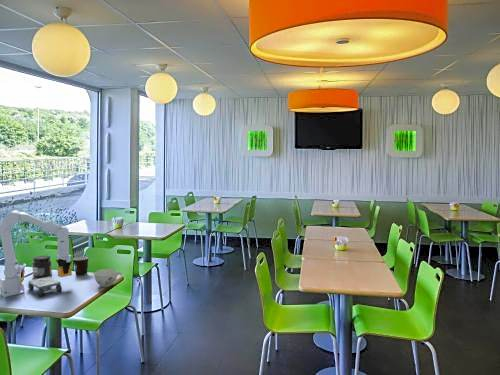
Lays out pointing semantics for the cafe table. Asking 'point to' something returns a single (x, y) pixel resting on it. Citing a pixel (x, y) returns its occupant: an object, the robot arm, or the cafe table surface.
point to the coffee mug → (81, 265)
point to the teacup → (106, 277)
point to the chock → (61, 273)
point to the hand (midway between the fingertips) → (64, 272)
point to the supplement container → (42, 267)
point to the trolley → (45, 285)
